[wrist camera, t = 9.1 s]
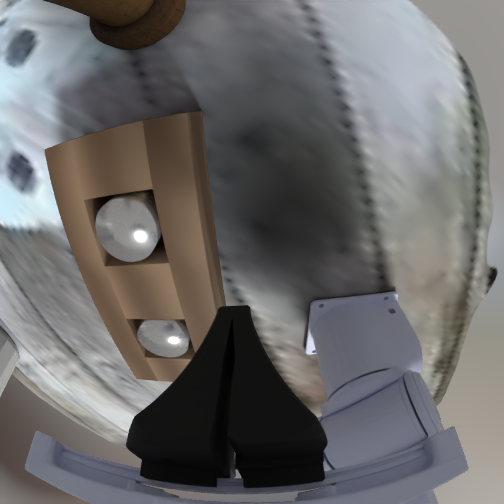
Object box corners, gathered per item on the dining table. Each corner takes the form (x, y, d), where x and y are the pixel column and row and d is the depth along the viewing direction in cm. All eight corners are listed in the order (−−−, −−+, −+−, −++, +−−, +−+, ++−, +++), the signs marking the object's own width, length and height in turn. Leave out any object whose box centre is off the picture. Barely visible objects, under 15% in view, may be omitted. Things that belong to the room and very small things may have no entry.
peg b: (190, 285, 24) (181, 322, 20) (199, 320, 26) (193, 357, 22) (145, 286, 24) (130, 322, 20) (158, 320, 26) (146, 356, 22)
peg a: (169, 174, 19) (148, 194, 15) (178, 228, 21) (163, 260, 17) (117, 182, 19) (88, 204, 15) (129, 232, 21) (106, 263, 17)
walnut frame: (201, 110, 17) (186, 112, 12) (232, 344, 28) (231, 382, 24) (82, 136, 17) (44, 149, 12) (147, 344, 28) (136, 378, 24)
